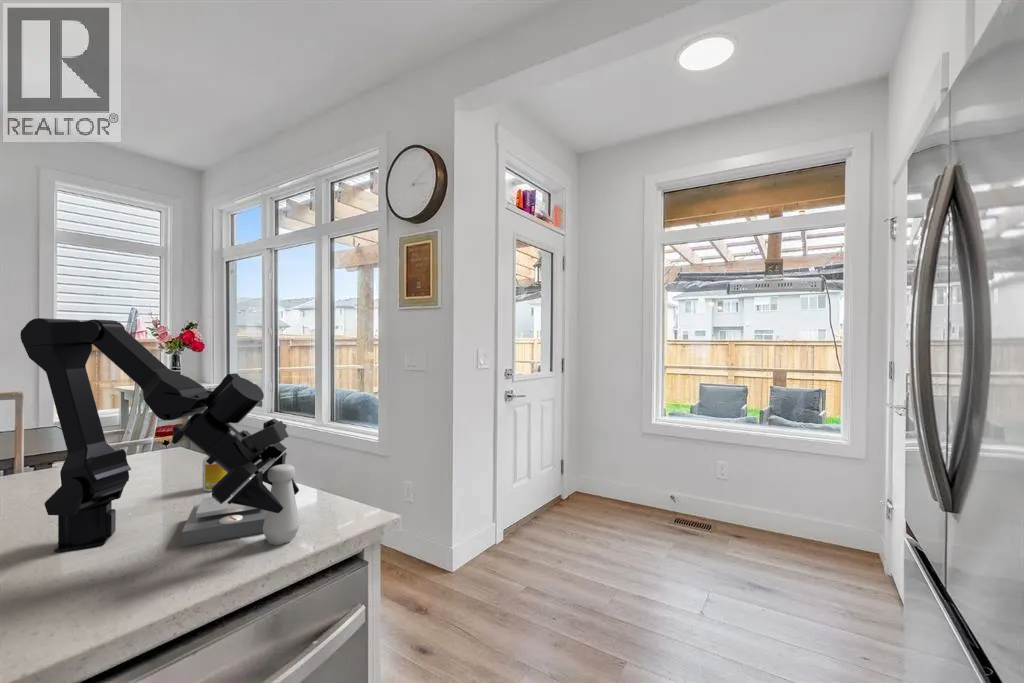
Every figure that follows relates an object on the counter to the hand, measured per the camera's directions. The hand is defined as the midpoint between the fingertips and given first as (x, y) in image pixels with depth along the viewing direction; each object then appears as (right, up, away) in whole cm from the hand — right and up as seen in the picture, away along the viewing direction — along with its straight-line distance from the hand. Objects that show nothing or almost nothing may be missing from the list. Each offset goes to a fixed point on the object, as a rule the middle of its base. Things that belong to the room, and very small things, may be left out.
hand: (289, 501), depth 80 cm
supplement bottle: (-31, -7, +28) cm, 43 cm away
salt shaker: (-1, -7, 0) cm, 7 cm away
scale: (-14, -7, +7) cm, 17 cm away
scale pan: (-15, -3, +8) cm, 17 cm away
